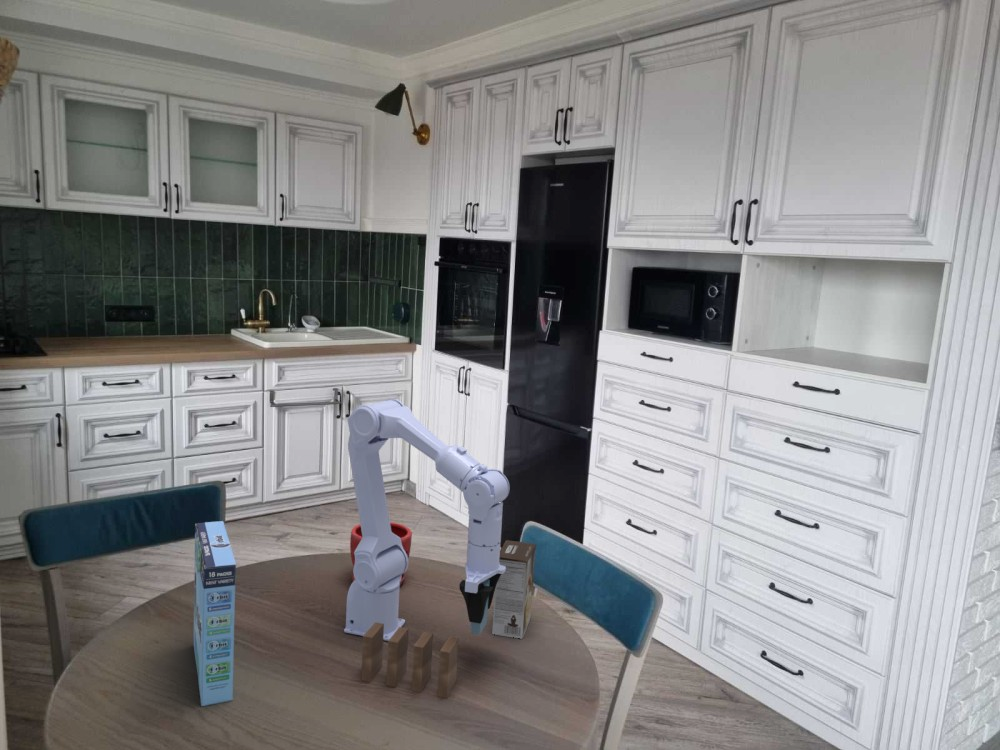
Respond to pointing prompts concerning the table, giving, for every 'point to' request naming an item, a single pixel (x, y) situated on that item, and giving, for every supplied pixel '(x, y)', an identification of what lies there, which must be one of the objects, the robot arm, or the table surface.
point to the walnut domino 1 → (372, 651)
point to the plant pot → (395, 528)
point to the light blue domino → (477, 627)
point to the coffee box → (514, 590)
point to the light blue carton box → (214, 612)
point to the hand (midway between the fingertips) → (479, 614)
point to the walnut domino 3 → (422, 661)
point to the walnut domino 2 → (397, 656)
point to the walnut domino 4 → (448, 667)
